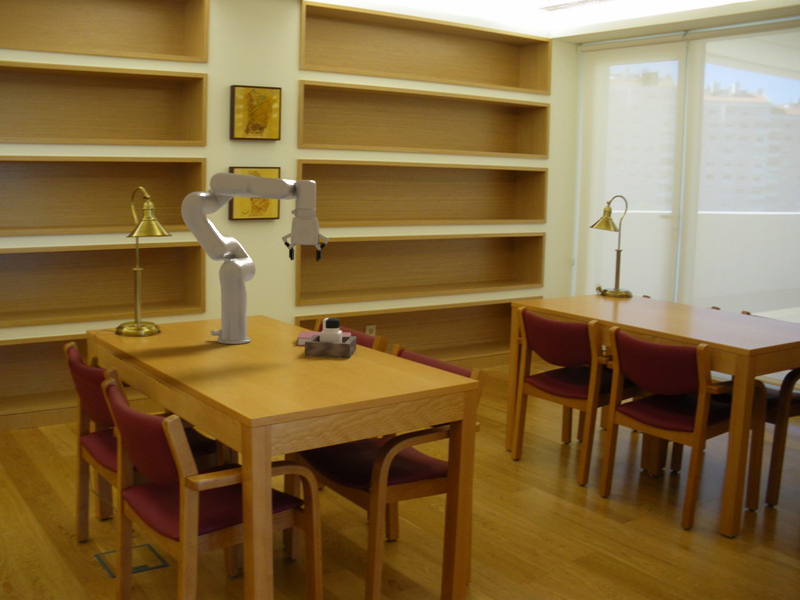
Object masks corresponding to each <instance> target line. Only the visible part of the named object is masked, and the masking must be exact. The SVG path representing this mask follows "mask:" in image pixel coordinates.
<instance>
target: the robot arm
mask: <svg viewBox="0 0 800 600" xmlns="http://www.w3.org/2000/svg"><path fill="white" fill-rule="evenodd" d="M209 187H210V188H209V189H208V190H207V191H192V192H190V193H188V194H187V195H186V196H185V197H184V198H183V200H182V203H181V208H180V209H181V210H180V212H181V214H180V215H181V217H182V220H183V222H184V224H185V226H186V227H187V228H188V230H189V231H190V232H191V234H192V235H193V236H194V238H195V239H196V241H197V242H198V243H199V245H200V246H201V248H202V249H203V251H204V252H205V253H206V255H207V256H208V257H209V258H210V259H211V260H212V261H215V262H219V261H220V262H221V261H223V263H221V265H220V267H219V269H218V277H219V284H220V295H221V296H220V303H221V304H220V309H221V310H220V311H221V312H220V322H221V323H220V325H221V326H220V328H221V329H218V330H216V329H215V330H213V329H212V330H210V335H211V336H212V337H213V336H217V338H216V342H217V343H220V344H225V345H226V344H227V345H243V344H247V343H250V342H251V338H250V337H249V336H248V335H247V331H248V329H247V325H248V323H247V322H248V321H247V318H248V317H247V312H248V311H247V309H248V307H247V305H248V303H247V302H248V301H247V297H248V296H247V287H246V284H245V283H246V282H249V281H251V280H252V279H253V278H254V276H255V275H256V271H257V270H256V265H255V263H254V261H253V260H252V258H251V257H250V255H249V254H248V252H247V251H246V250H245V249H244V247H243V245H242V244H241V243H240V242H239V240H237V239H236V238H235V237H233V236H231V235H228V234H222V233H221V232H220V231H219V230H218V229H217V227H216V226H215V224H214V223H213V221H211V220H210V219H209V218H208V217H207V216H206V215H210V214H214V213H216V212H218V211H219V210H220V209H222V208H223V207H224V206H225V205H226V204H228V203H229V202H230V201H231V200H232V199H233V198H234V197H237V198H239V197H240V198H247V199H248V198H249V199H254V198H256V199H257V198H260V199H270V200H282V201H283V200H295V203H294V204H295V207H294V210H291V215H294V217H292V219H291V220H292V221H291V226H290V227H291V231H290V233H288V234H285V235H284V236H282V237H281V239H282V242H283V243H284V245H285V247H286V248H287V249H288V258H289V259H290V261H294V260H295V249H294V247H295V246H296V245H297V246H314V247H315V248H316V252H315V253H316V254H315V256H316V257H315V259H316V260H315V261H316V262H320V260H321V259H322V250H323V249H324V248H325V247H326V246H327V244H328V242H329V240H330V238H328V237H327V236H326V235H323V234H322V233H320V225H319V219H318V217H317V183H316V181H315V180H311V179H298V180H297V179H289V178H277V177H276V178H275V177H265V176H264V177H262V176H256V175H254V174H244V173H234V172H233V173H232V172H217V173H215V174H213V175H212V176H211V177H210V180H209ZM289 238H290V243H289V241H288V239H289ZM320 239H321V240H323V242H322V244H320Z"/></svg>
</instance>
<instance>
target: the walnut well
mask: <svg viewBox="0 0 800 600" xmlns="http://www.w3.org/2000/svg"><path fill="white" fill-rule="evenodd" d="M355 350H356V351H357V336H352V335H351V336H342V343H340V342H320V335H313V336H312V337H310V338H309V339H308V340H307V341H306V342H305V346H304V357H319V358H322V357H323V358H339V357H341V358H342V359H344V358H346V359H350V358H351V357H352V356H353V355H354V353H355V352H356V351H355ZM351 355H352V356H351Z"/></svg>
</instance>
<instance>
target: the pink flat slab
mask: <svg viewBox="0 0 800 600" xmlns="http://www.w3.org/2000/svg"><path fill="white" fill-rule="evenodd" d="M321 332H322V331H299V332H298V335H297V338H296V340H297V341H296V344H297V345H296V346H301V347H302V346H304V347H305V342H306V341H307V340H308V339H309V338H310V337H312V336H313V335H320V333H321ZM342 336H352V333H351V332H345V331H344V332H343V331H342Z"/></svg>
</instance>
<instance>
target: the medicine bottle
mask: <svg viewBox="0 0 800 600" xmlns="http://www.w3.org/2000/svg"><path fill="white" fill-rule="evenodd" d="M340 323H341V321H340V319H339V318H336V317H326V318H325V317H324V318H323V320H322V331H320V332H321V333H320V342H340V343H342V332H343V330H341V329H340V327H341V326H340Z"/></svg>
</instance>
